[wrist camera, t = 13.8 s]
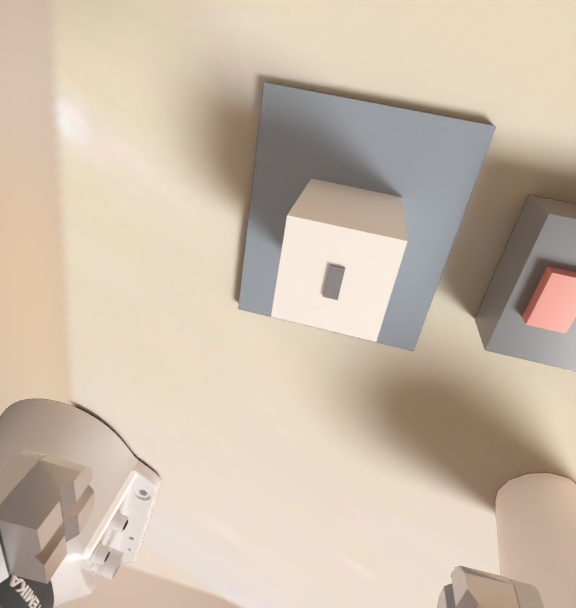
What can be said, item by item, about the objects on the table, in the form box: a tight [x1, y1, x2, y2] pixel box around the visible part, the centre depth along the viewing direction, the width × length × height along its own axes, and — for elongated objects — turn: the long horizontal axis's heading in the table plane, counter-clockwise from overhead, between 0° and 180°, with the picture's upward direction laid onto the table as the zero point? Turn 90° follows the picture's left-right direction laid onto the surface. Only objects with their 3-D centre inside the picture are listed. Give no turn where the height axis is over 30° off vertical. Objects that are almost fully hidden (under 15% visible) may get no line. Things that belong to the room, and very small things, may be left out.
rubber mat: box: [238, 82, 496, 351], centre depth 26 cm, size 14×12×1 cm
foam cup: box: [495, 473, 576, 608], centre depth 28 cm, size 10×9×13 cm
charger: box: [271, 178, 408, 342], centre depth 23 cm, size 5×5×7 cm
